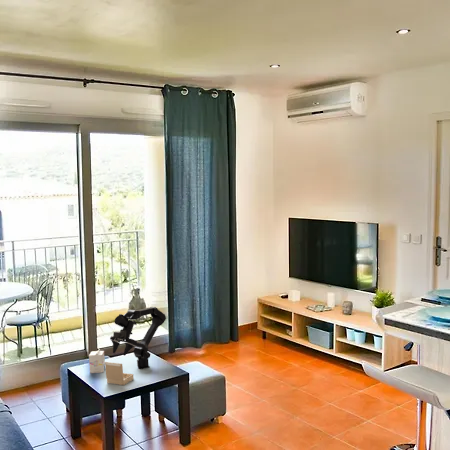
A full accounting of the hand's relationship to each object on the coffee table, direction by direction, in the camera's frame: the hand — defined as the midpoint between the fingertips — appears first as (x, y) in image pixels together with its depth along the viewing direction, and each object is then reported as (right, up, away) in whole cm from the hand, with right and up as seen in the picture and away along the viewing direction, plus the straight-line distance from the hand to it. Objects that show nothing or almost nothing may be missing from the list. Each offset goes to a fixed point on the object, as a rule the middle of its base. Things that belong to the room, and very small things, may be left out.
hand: (118, 354), depth 307 cm
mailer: (+2, -15, -6) cm, 16 cm away
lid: (0, -7, -11) cm, 13 cm away
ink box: (-17, -15, +15) cm, 27 cm away
